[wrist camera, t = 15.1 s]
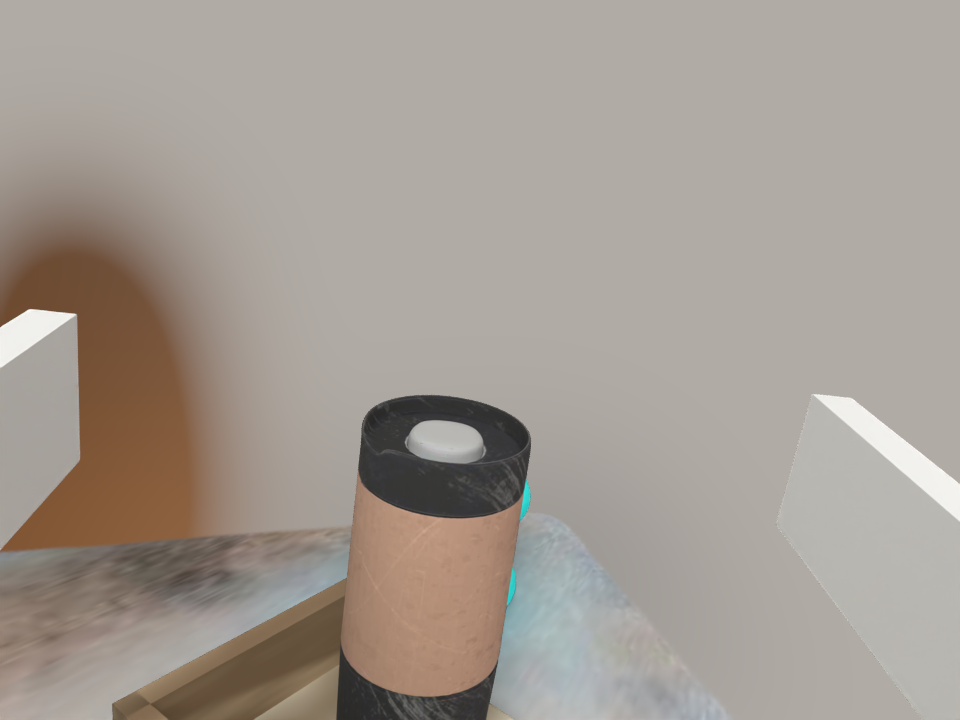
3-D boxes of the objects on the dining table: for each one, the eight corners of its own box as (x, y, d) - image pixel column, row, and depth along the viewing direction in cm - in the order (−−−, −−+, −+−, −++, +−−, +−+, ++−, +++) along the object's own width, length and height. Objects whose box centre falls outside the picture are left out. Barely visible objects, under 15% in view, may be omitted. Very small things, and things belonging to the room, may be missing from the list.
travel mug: (492, 751, 46) (549, 415, 40) (451, 867, 39) (512, 482, 33) (362, 710, 48) (397, 381, 42) (301, 815, 41) (331, 438, 34)
